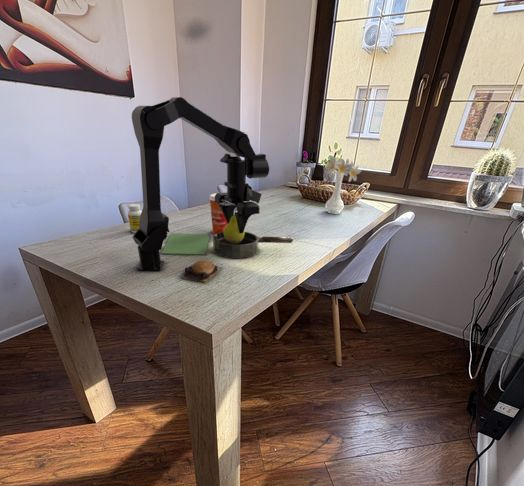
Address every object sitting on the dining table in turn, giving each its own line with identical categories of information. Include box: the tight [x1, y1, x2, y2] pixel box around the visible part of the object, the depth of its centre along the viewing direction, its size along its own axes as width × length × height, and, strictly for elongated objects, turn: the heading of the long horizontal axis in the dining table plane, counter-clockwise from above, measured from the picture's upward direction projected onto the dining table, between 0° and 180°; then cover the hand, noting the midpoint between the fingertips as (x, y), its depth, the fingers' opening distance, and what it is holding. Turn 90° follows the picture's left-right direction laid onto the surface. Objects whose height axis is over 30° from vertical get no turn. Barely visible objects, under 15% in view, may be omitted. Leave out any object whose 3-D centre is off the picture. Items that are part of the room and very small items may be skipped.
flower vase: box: [324, 156, 362, 215], centre depth 152 cm, size 13×18×25 cm
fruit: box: [224, 207, 246, 244], centre depth 102 cm, size 7×7×12 cm
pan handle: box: [256, 236, 294, 244], centre depth 105 cm, size 13×2×2 cm, turn 94°
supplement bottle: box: [127, 203, 142, 234], centre depth 115 cm, size 5×5×10 cm
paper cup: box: [208, 192, 227, 235], centre depth 118 cm, size 8×8×14 cm
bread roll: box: [181, 259, 221, 283], centre depth 89 cm, size 11×8×4 cm
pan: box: [212, 231, 259, 259], centre depth 105 cm, size 15×15×4 cm
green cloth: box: [160, 233, 210, 256], centre depth 109 cm, size 20×14×1 cm
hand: (235, 230), depth 103 cm, fingers closed on fruit, 7 cm apart
